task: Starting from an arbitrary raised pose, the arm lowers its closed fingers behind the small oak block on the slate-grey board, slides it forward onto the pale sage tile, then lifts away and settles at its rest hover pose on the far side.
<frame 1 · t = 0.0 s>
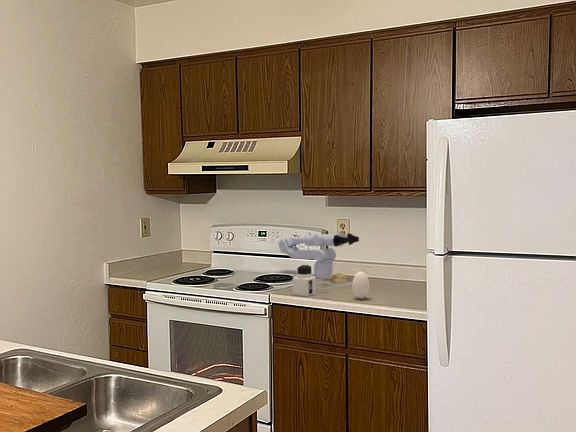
hand: (353, 239, 292), 22 cm above the worktop, tool horizontal, fingers open, 7 cm apart
board: (330, 286, 290), on the worktop
egg: (360, 299, 261), on the worktop
container: (304, 294, 272), on the worktop
oak block: (338, 282, 293), point 1 cm above the worktop, touching board
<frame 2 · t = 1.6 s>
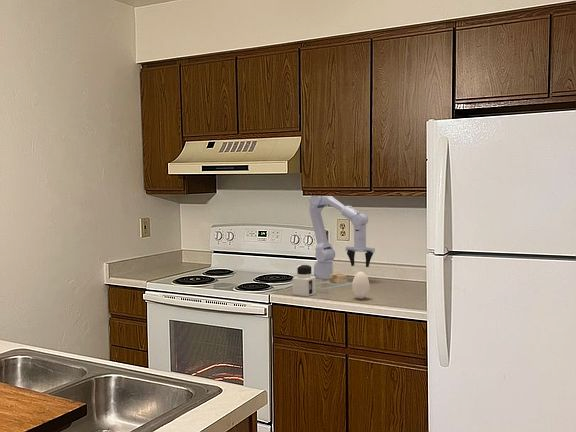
hand: (360, 266, 295), 8 cm above the worktop, tool pointing down, fingers open, 7 cm apart
nothing on the worktop moved.
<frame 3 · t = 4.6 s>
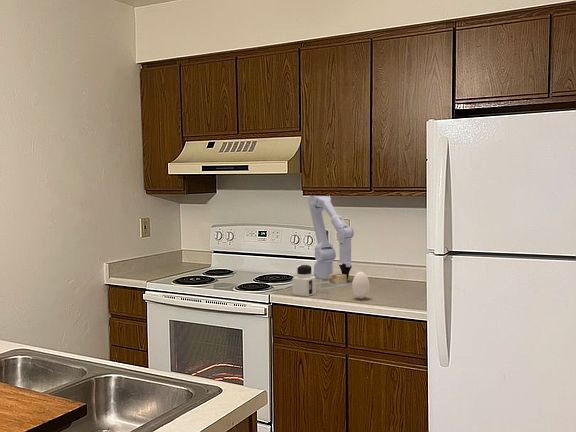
hand: (345, 279, 296), 2 cm above the worktop, tool pointing down, fingers closed
oak block: (337, 282, 293), point 1 cm above the worktop, touching board, gripper
everything else where it was.
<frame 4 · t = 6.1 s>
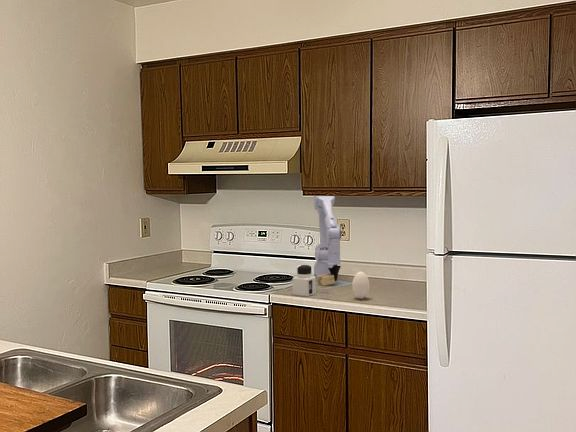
hand: (334, 280, 290), 2 cm above the worktop, tool pointing down, fingers closed, pressing on oak block
oak block: (326, 283, 290), point 1 cm above the worktop, tilted 7°, touching board, gripper
everything else where it was.
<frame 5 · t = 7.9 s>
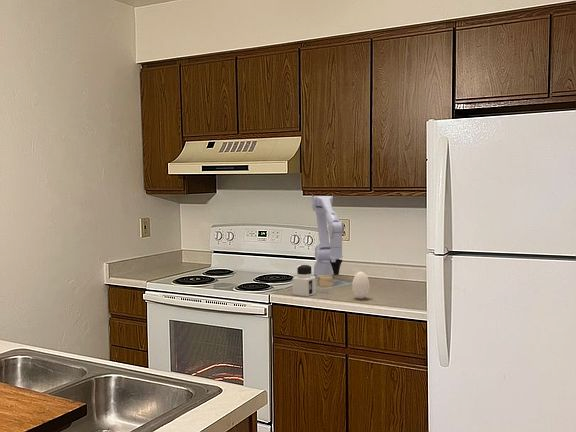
hand: (336, 274, 292), 5 cm above the worktop, tool pointing down, fingers closed
oak block: (325, 284, 288), point 1 cm above the worktop, touching board
everything else where it was.
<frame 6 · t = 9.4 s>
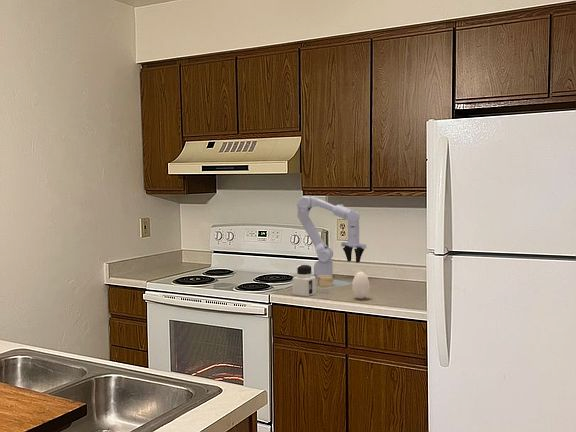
hand: (353, 261, 304), 9 cm above the worktop, tool pointing down, fingers open, 5 cm apart
nothing on the worktop moved.
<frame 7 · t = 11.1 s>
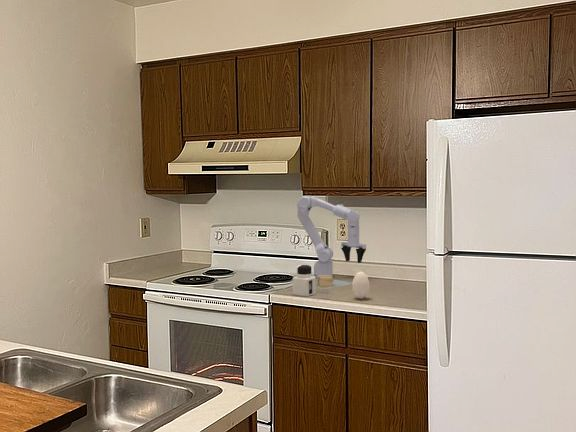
hand: (353, 261, 304), 9 cm above the worktop, tool pointing down, fingers open, 7 cm apart
nothing on the worktop moved.
at the end: oak block inside the target area (2.4 cm from its centre), point 1.0 cm above the worktop; oak block tilted 1°; the gripper is holding nothing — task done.
